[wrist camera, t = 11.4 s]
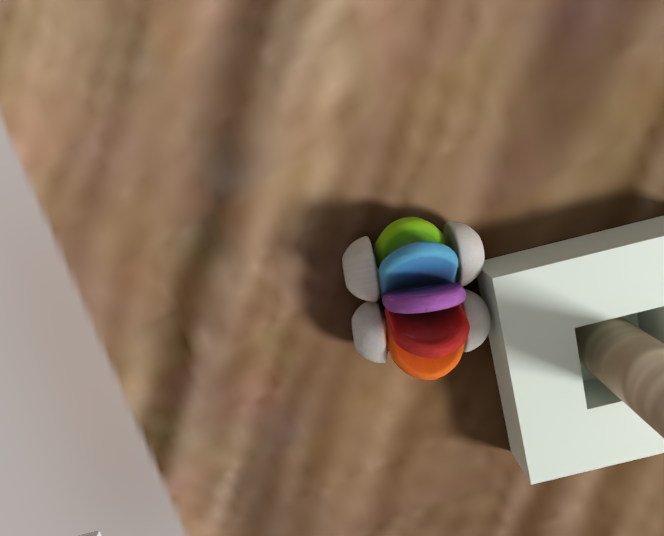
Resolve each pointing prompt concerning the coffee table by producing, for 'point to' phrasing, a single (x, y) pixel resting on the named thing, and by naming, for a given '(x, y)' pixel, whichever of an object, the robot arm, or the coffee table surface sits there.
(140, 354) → the coffee table surface
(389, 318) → the rainbow wheeled toy
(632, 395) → the peg
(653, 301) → the socket block
